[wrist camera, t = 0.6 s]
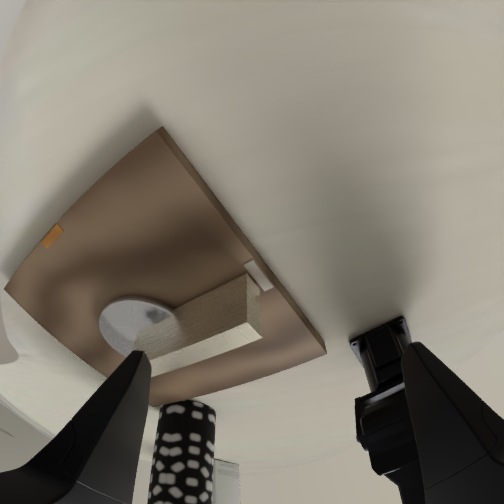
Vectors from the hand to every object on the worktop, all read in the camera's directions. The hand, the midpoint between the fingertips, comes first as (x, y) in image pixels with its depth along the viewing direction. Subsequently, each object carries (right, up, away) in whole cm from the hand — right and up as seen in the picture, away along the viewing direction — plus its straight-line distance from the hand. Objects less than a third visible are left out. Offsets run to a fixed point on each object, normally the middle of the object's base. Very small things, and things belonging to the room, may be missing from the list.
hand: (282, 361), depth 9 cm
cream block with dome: (-8, -2, +15) cm, 17 cm away
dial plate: (-11, -3, +18) cm, 21 cm away
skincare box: (-9, -47, +48) cm, 68 cm away
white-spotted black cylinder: (-10, -20, +30) cm, 37 cm away
